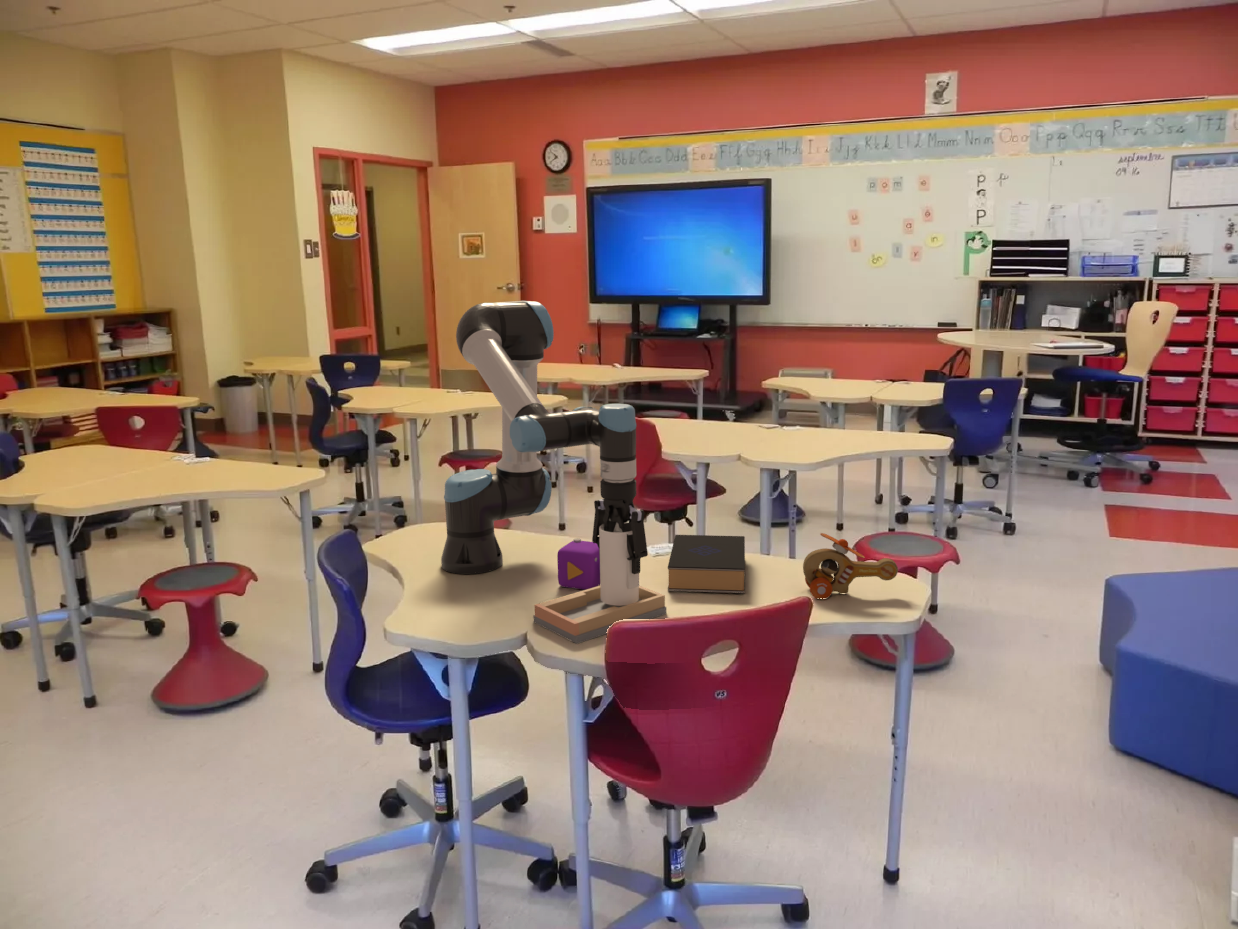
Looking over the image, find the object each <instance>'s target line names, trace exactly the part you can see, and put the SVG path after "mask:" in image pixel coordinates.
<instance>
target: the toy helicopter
mask: <svg viewBox="0 0 1238 929" xmlns="http://www.w3.org/2000/svg"><path fill="white" fill-rule="evenodd" d="M819 535H820V536H821V537H822V538H826V539H827V540H830V541H831V542H833V544H832V548H827V547H826V548H819V549H815V550H812V551H811V552H809V553H808V554H807V555H806V557H805V558H804V560H803V564H802V570H803V575H804V581H805V584H806V585H807V587H808V588H809V592H810V594H811V595H812V597H813V598H814V599H816V600H819V599H820V598H822V599H823V598H827V599H829V598H830V597H831V595H832V593H833V592H837V593H838V594H840V593H847V594H848V593H849V586H850V584H851V583H852V582H853V580H854V579H856V578H870V577H871V578H872V577H875V578H879V579H880V580H883V581H891V580H893V579H895V578H896V576H897V575H898V572H899V568H898V565H897V563H896V562H895V561H894V560H893V559H891V558H888V557H887V558H886V557H885V558H884V557H883V558H881V559H879V560H878V561H859V560H857V561H855V560H851V559H850V557H848V556H847V554H848V552H850V553H852V554H854V555H855V556H857V557H858V558H861V559H865V556H864V555H863V554H862V553H859V552H858V551H856V550H854V549H853V548H852V547H850V546H849V542H848V541H847V540H846V539H845V538H840V539H836V538H835V537H833V536H831V535H829V534H826V533H823V532H820V533H819ZM817 598H819V599H817Z"/></svg>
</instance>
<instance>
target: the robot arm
mask: <svg viewBox="0 0 1238 929" xmlns="http://www.w3.org/2000/svg"><path fill="white" fill-rule="evenodd" d="M554 334H555V332H554V326H553V321H552V317H551V315H550V314H549V312H548V310H547V308H546V307H545V306H544V305H543V304H542V303H540V302H539V301H531V300H516V301H515V300H514V301H498V302H481V303H478V304H475V305H473V306H471V307H470V308H468V309H467V310H465V312H464V313H463V314H462V316H461V318H460V319H459V321H458V324H457V327H456V334H455V338H456V345H457V348H458V350H459V352H460V354H461V356H462V357H463V359H464V360H465V361H466V363H468V364H470V365H472V366H474V367H475V369H476V370H477V372H478V373H479V375H480V377H481V378H482V379H483V381H484V382H485V384H486V386H487V387H488V388H489V390H490V391H491V393H492V394H493V396H494V397H495V399H496V401H497V402H498V403H499V405H500V407H501V414H502V415H501V416H502V417H501V419H502V420H501V423H502V424H501V426H502V428H501V429H502V430H501V431H502V432H501V434H502V435H501V437H502V438H501V439H502V440H501V441H502V442H501V444H502V446H501V447H502V448H501V452H502V453H501V454H502V456H501V458H500V460H498V461H497V462H496V464H495V470H496V472H495V473H492V471H491V470H489V469H485V468H477V469H467V470H463V471H460V472H457V473H454V474H452V475H451V476H449V477H448V478H447V479H446V481H445V482H444V495H443V499H444V508H445V522H446V524H445V526H446V540H445V543H444V547H443V550H442V555H441V557H440V558H441V559H440V562H441V568H442V569H443V571H446V572H448V573H452V574H457V575H475V574H482V573H483V574H484V573H488V572H491V571H494V570H497V569H499V568H500V567H502V565H503V562H504V561H503V560H504V559H503V552H502V550H501V548H500V545H499V541H498V540H497V536H496V534H495V522H497V521H500V520H506V519H512V518H518V517H528V516H531V515H533V514H538V513H541V512H543V511H544V510H545V509H546V508H547V507H548V505H549V503H550V500H551V497H552V489H553V488H552V486H553V485H552V480H550V479H551V475H550V474H549V472H548V471H547V469H545V468H544V467H543V463H542V461H541V460H540V459H539V458H538V457H537V455H538V454H537V453H538V452H544V451H549V450H550V451H551V450H556V449H561V448H571V447H577V446H578V447H579V446H585V445H593V446H596V447H599V459H600V462H599V463H600V464H599V466H600V468H599V470H600V475H599V476H600V477H601V479H600V484H599V485H600V496H601V499H595V500H594V501H593V504H594V520H593V529H592V539H591V542H593V543H596V544H597V545H598V548H599V554H600V540H599V527H600V526H601V525H604V531H607V532H614V528H615V525H616V522H617V523H618V525H619V528H621V529H622V532H629V531H632V535H628V534H627V550H628V553H629V558H627V588H628V589H632V588H635V587H638V586H639V585H640V573H641V559H642V558H646V557H648V555H649V554H648V553H649V552H648V546H647V538H646V531H645V530H646V529H645V522H644V521H645V510H643V509H639V510H638V509H637V508H635V505H634V499H635V497H636V496H637V479H635V478H636V477H637V457H636V456H637V426H638V425H637V422H636V409H635V407H633V405H632V404H631V405H630V404H627V403H607V404H603V405H601V406H599V409H598V408H595V407H592V406H578V407H575V408H574V409H572V410H568V411H562V412H561V411H559V412H552V413H550V412H549V411H548V409H546V407H545V406H544V405H543V403H542V401H540V399H539V397H538V364H540V362H542V361H543V359H544V358H545V357H544V354H545V353H544V351H545V350H547V349H548V348H550V347H551V346H552V344H553V342H554ZM625 522H628V523H625ZM624 523H625V524H624ZM634 551H635V553H634ZM599 559H600V555H599Z"/></svg>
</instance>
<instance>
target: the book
mask: <svg viewBox="0 0 1238 929" xmlns="http://www.w3.org/2000/svg"><path fill="white" fill-rule="evenodd" d="M745 540H746V537H745V536H744V535H743V536H742V535H709V534H708V535H705V534H701V535H700V534H674V538H673V543H672V547H671V551H670V556H669V559H668V564H667V570H668V586H667V592H688V593H689V592H691V593H693V592H694V593H720V594H723V593H724V594H745V587H746V586H745V575H746V560H745V559H746V558H745V557H746V547H745V546H746V545H745V544H746V543H745V542H746V541H745Z"/></svg>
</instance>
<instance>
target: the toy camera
mask: <svg viewBox="0 0 1238 929" xmlns="http://www.w3.org/2000/svg"><path fill="white" fill-rule="evenodd" d="M599 555H600V554H599V548H598V545H597V544H596V543H593V541H588V540H582V539H581V538H573V540H572V541H570V542H568V543H567V544H565V545H564V546H562V547H560V548H559V549H558V551H557V557H556V558H557V580H558V585H559V586H560V587H563V588H569V589H575V590H576V589H577V590H582V591H583V590H587V589H590V588H594V587H597V586H600V559H599Z"/></svg>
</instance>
